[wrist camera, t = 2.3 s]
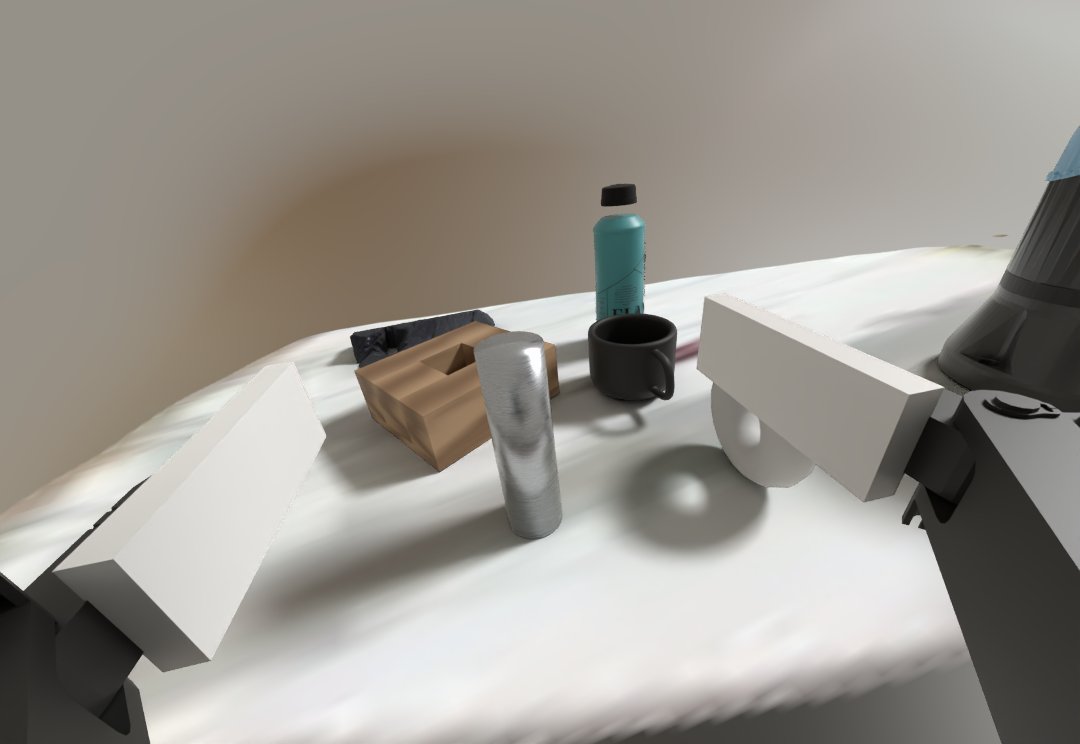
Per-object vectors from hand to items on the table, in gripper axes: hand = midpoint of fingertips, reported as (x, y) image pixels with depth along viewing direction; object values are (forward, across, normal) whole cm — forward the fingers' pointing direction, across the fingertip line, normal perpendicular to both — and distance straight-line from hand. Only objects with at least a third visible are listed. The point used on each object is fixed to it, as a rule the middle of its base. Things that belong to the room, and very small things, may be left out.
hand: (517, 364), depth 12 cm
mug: (+22, +14, -17) cm, 32 cm away
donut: (+9, +18, -17) cm, 26 cm away
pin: (+9, 0, -17) cm, 19 cm away
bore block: (+26, -4, -17) cm, 32 cm away
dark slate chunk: (+49, -10, -18) cm, 53 cm away
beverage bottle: (+35, +17, -17) cm, 43 cm away
